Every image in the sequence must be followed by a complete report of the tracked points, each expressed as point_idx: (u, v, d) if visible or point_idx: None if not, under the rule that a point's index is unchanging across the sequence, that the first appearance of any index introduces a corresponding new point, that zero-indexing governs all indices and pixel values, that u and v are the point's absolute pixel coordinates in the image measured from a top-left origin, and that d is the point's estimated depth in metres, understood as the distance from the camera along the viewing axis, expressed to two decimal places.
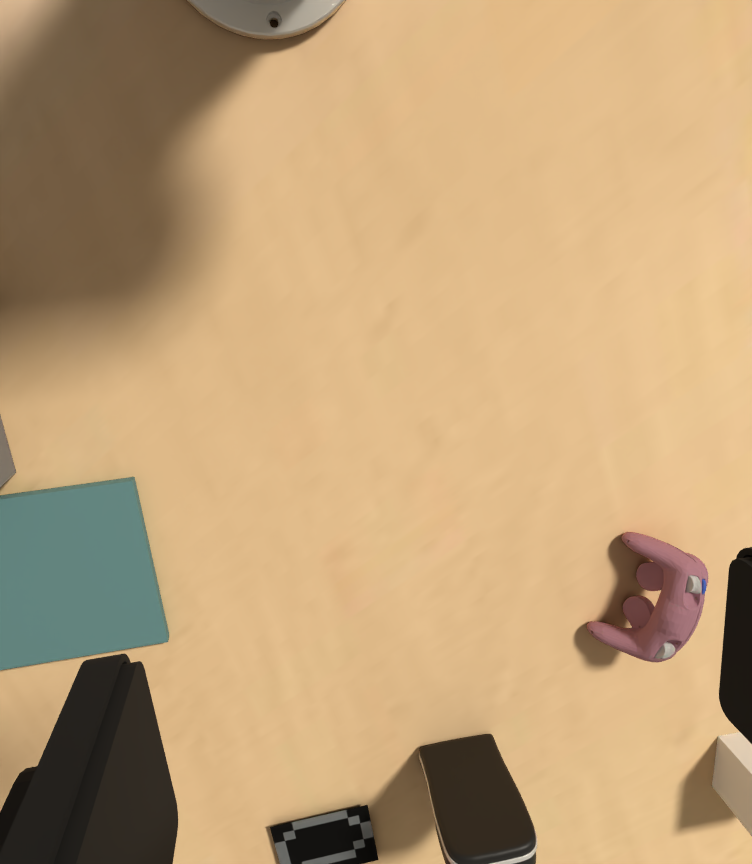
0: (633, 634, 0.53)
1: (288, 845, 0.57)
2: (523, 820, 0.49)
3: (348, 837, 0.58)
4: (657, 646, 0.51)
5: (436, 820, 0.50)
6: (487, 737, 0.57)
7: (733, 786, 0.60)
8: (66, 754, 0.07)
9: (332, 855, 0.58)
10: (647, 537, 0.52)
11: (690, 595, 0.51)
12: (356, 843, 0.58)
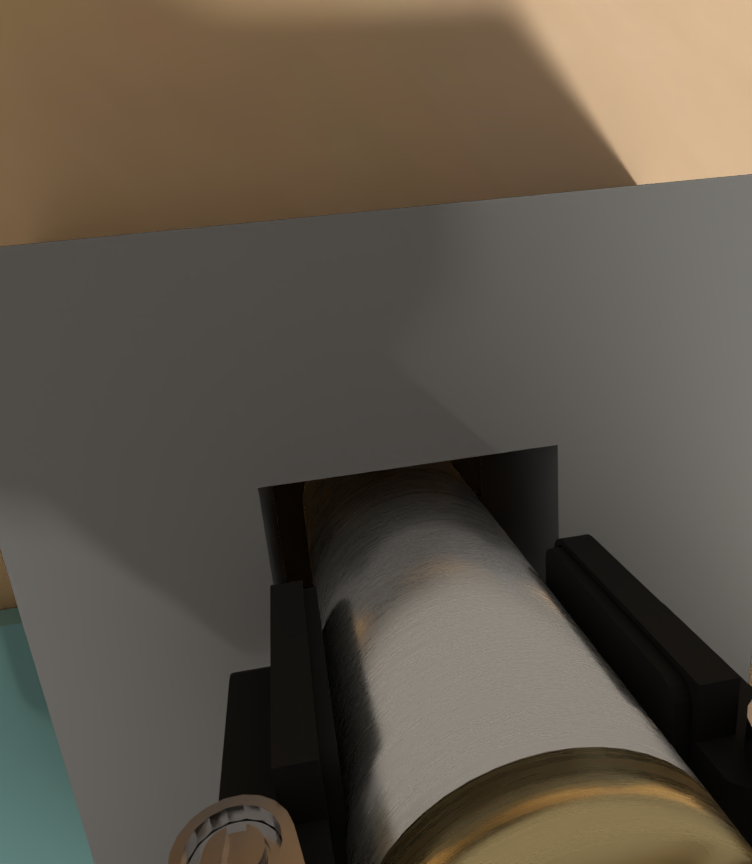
0: None
1: None
2: None
3: None
4: None
5: None
6: None
7: None
8: (291, 649, 0.09)
9: None
10: None
11: None
12: None
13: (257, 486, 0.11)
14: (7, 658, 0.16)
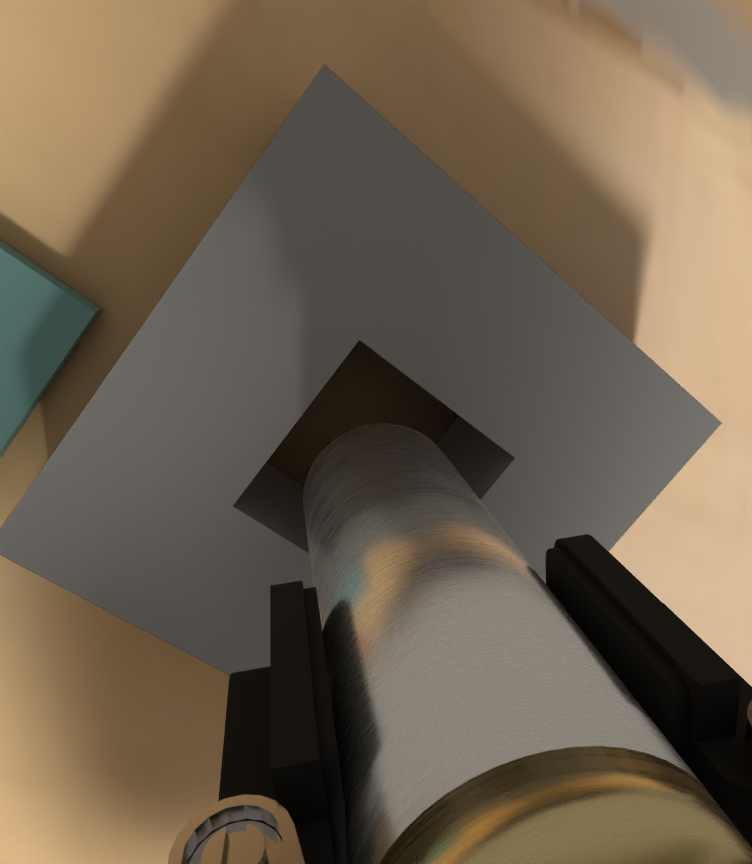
0: None
1: None
2: None
3: None
4: None
5: None
6: None
7: None
8: (291, 649, 0.09)
9: None
10: None
11: None
12: None
13: (359, 338, 0.16)
14: (44, 315, 0.19)
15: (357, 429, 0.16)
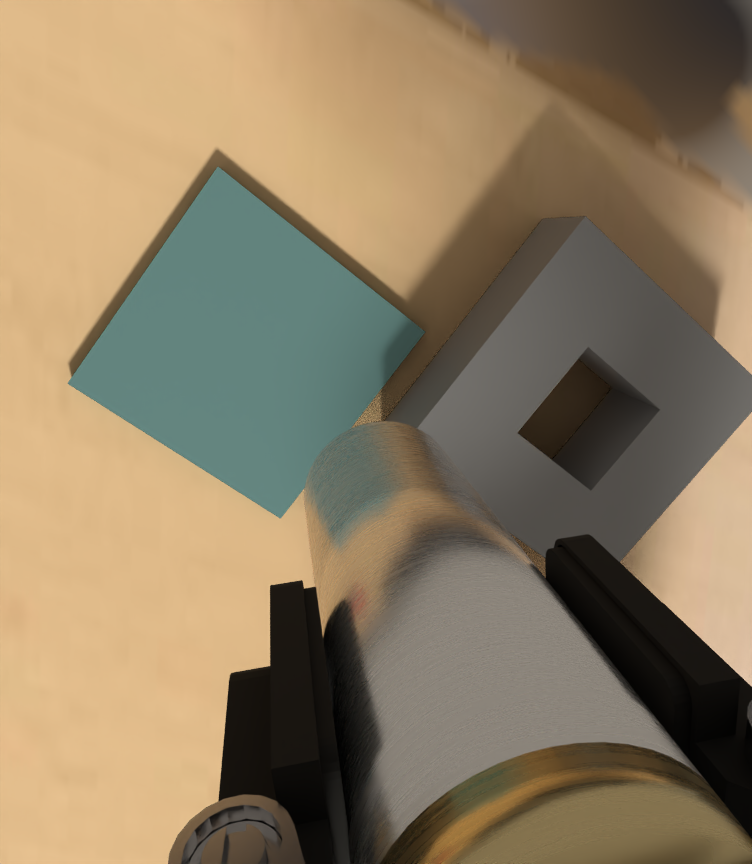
0: None
1: None
2: None
3: None
4: None
5: None
6: None
7: None
8: (291, 649, 0.09)
9: None
10: None
11: None
12: None
13: (588, 346, 0.32)
14: (399, 333, 0.35)
15: (358, 427, 0.16)
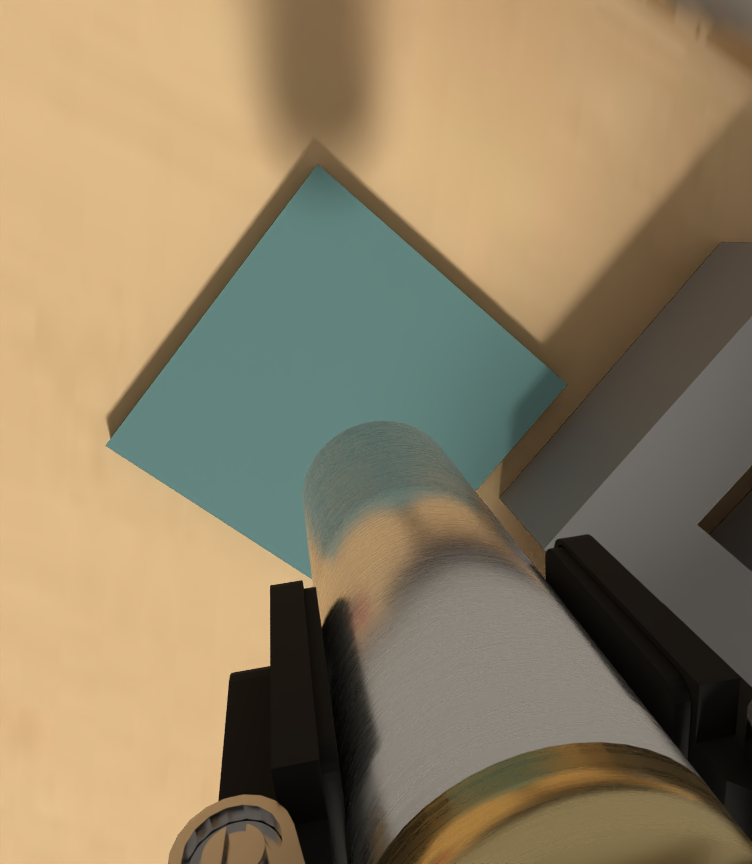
0: None
1: None
2: None
3: None
4: None
5: None
6: None
7: None
8: (291, 648, 0.09)
9: None
10: None
11: None
12: None
13: None
14: (534, 386, 0.27)
15: (357, 427, 0.16)
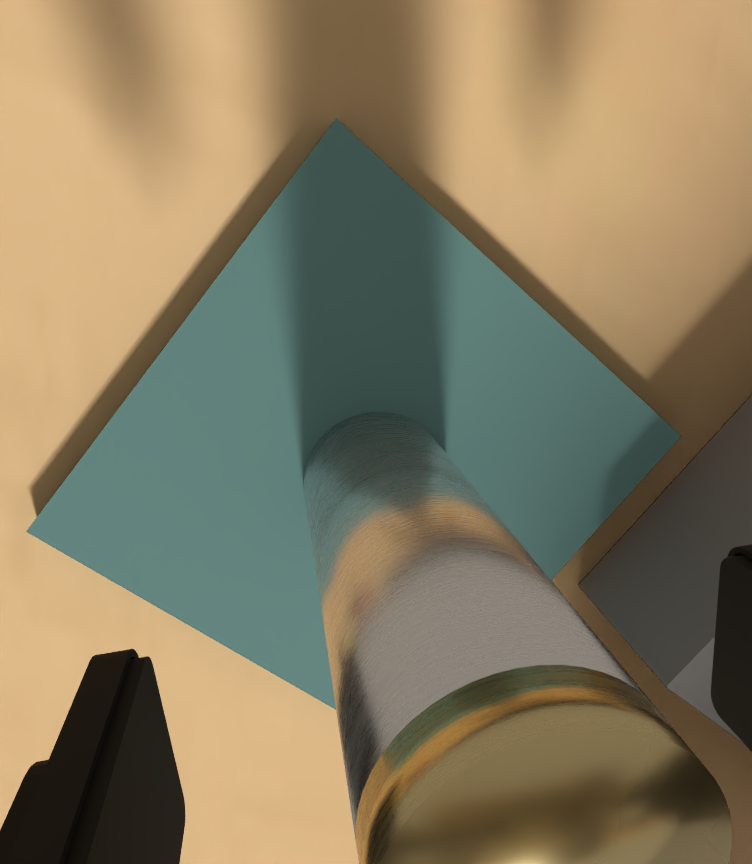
0: None
1: None
2: None
3: None
4: None
5: None
6: None
7: None
8: (77, 747, 0.07)
9: None
10: None
11: None
12: None
13: None
14: (636, 439, 0.19)
15: (353, 417, 0.17)
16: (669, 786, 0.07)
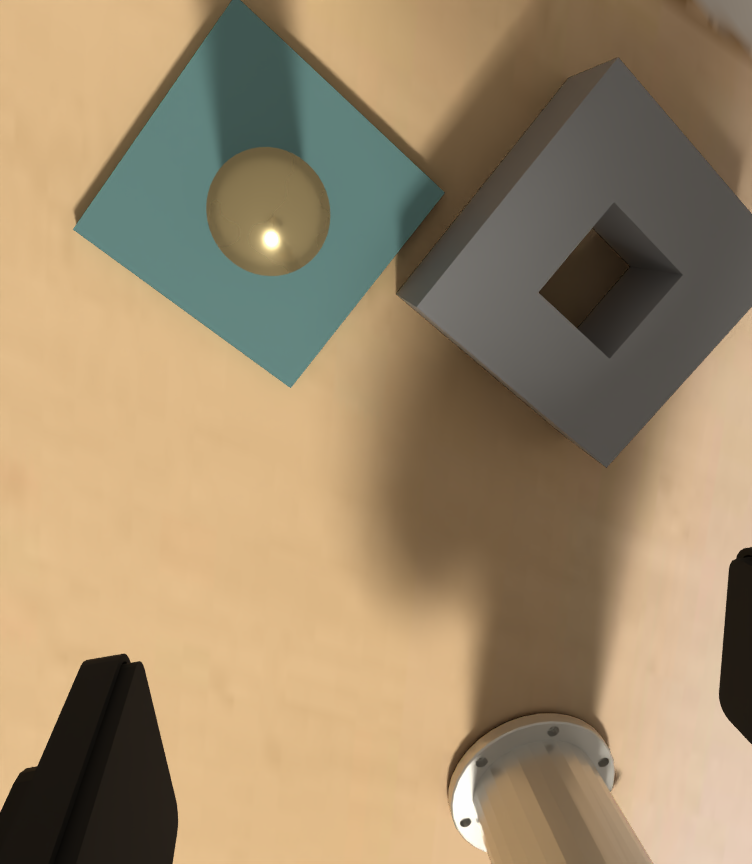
0: None
1: None
2: None
3: None
4: None
5: None
6: None
7: None
8: (66, 754, 0.07)
9: None
10: None
11: None
12: None
13: (614, 201, 0.31)
14: (418, 193, 0.34)
15: None
16: (302, 176, 0.21)
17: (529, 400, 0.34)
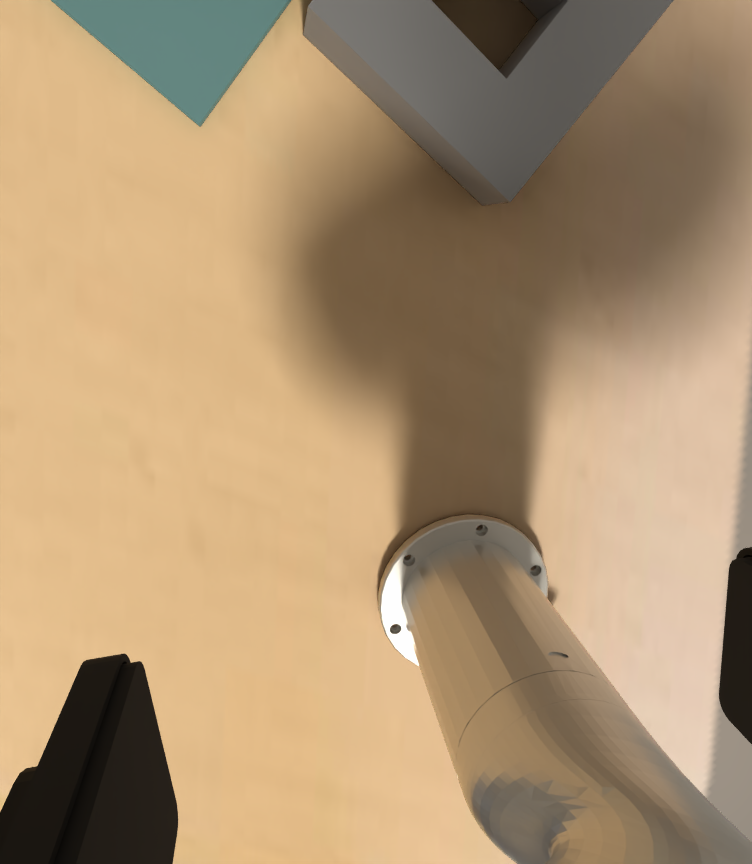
0: None
1: None
2: None
3: None
4: None
5: None
6: None
7: None
8: (66, 754, 0.07)
9: None
10: None
11: None
12: None
13: None
14: None
15: None
16: None
17: (427, 119, 0.34)
